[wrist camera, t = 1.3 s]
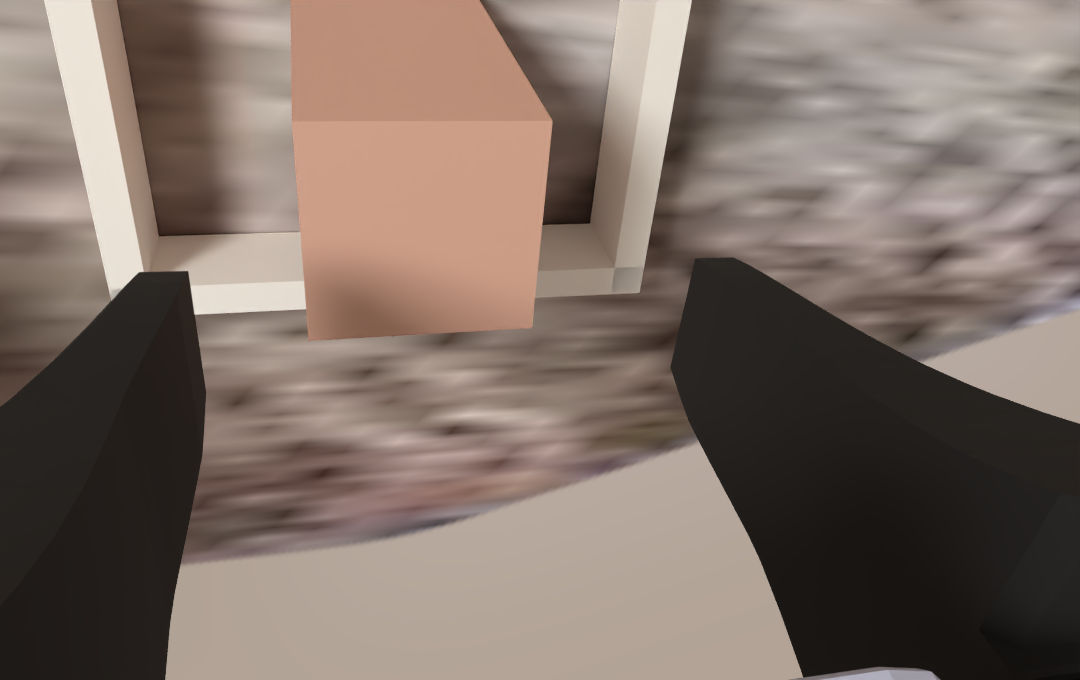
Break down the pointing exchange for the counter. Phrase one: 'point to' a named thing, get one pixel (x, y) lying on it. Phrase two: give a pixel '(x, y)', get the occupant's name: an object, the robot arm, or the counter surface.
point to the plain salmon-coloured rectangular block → (414, 169)
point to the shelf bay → (276, 258)
